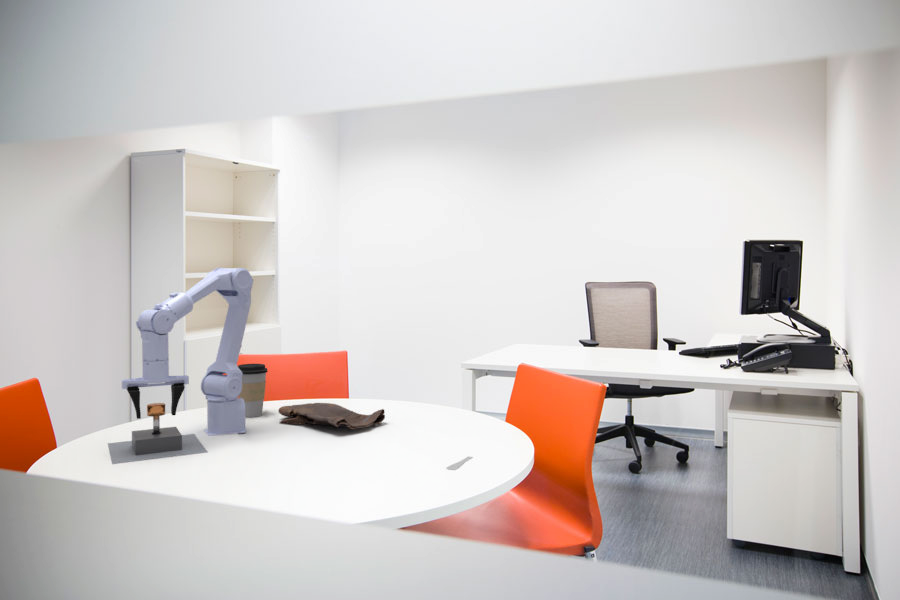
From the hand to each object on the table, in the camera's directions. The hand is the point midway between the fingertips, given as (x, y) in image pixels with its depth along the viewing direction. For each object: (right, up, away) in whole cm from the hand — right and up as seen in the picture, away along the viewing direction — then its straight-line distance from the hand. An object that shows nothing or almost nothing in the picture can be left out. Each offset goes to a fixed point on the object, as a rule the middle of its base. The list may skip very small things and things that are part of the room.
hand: (156, 416), depth 157 cm
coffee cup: (+11, -7, +39) cm, 41 cm away
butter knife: (+76, -9, -4) cm, 76 cm away
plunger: (0, -5, 0) cm, 5 cm away
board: (0, -8, 0) cm, 8 cm away
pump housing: (0, -8, 0) cm, 8 cm away
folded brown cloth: (+36, -8, +30) cm, 47 cm away
